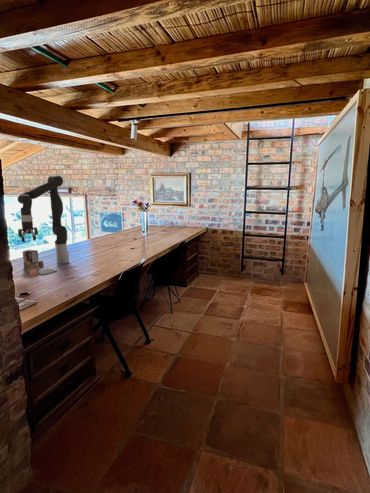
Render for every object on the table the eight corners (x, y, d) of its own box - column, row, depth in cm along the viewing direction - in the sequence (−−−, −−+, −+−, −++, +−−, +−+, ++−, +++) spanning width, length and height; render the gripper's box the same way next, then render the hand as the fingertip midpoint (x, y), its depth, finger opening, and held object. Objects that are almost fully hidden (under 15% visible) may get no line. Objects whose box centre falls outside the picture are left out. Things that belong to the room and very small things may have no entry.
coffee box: (39, 269, 226) (37, 250, 223) (33, 271, 220) (31, 252, 217) (30, 268, 229) (28, 249, 225) (24, 270, 222) (22, 251, 219)
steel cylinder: (27, 267, 232) (27, 261, 231) (30, 268, 230) (29, 262, 229) (23, 268, 229) (22, 262, 228) (25, 269, 227) (25, 263, 226)
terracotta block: (34, 274, 215) (33, 269, 214) (37, 274, 213) (37, 269, 212) (29, 275, 211) (28, 270, 210) (32, 276, 209) (32, 271, 209)
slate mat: (47, 269, 227) (47, 268, 227) (56, 271, 221) (56, 270, 221) (33, 273, 217) (33, 272, 217) (42, 275, 211) (42, 274, 211)
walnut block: (39, 265, 238) (39, 260, 237) (43, 266, 235) (43, 260, 234) (34, 267, 233) (33, 261, 232) (37, 268, 231) (37, 262, 230)
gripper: (32, 219, 224) (34, 239, 227) (14, 221, 212) (17, 242, 215) (38, 220, 221) (40, 240, 224) (20, 221, 208) (22, 243, 212)
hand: (29, 241), depth 220 cm, fingers open, 8 cm apart
